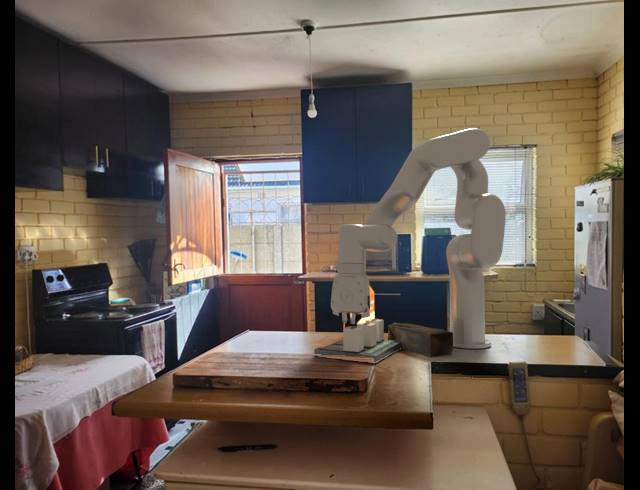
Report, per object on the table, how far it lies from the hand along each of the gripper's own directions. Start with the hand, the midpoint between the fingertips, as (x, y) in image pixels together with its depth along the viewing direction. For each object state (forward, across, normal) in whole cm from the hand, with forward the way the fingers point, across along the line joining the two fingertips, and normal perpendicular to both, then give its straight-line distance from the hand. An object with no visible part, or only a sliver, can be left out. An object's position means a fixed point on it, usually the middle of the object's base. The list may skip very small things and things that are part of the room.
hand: (350, 337), depth 124 cm
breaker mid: (+1, +5, 0) cm, 5 cm away
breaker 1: (+2, +4, -7) cm, 8 cm away
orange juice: (+4, -4, +15) cm, 16 cm away
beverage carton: (+4, +15, +12) cm, 20 cm away
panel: (+4, +3, 0) cm, 5 cm away
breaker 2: (+1, +4, +7) cm, 8 cm away
